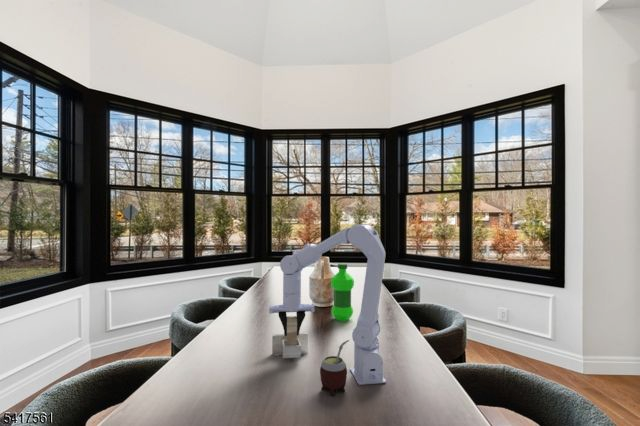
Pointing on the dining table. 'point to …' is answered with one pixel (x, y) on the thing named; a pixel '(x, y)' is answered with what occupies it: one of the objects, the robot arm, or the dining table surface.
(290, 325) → the rail end
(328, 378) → the mate gourd
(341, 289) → the plastic bottle
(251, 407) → the dining table surface
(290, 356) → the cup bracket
